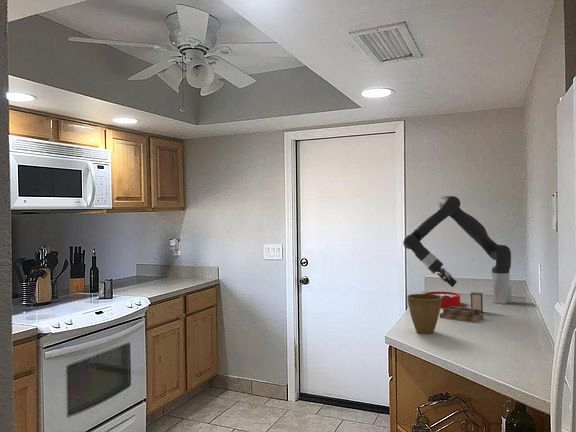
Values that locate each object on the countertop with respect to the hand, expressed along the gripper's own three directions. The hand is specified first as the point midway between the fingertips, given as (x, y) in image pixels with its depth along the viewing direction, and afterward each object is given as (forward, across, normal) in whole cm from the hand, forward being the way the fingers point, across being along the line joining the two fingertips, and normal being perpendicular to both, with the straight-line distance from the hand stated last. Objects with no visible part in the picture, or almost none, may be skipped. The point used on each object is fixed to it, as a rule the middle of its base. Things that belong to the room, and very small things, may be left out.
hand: (454, 284), depth 254 cm
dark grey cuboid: (+18, 0, +2) cm, 18 cm away
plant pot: (+5, -51, +15) cm, 53 cm away
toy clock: (+4, +16, +17) cm, 24 cm away
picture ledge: (+13, -17, +7) cm, 23 cm away
